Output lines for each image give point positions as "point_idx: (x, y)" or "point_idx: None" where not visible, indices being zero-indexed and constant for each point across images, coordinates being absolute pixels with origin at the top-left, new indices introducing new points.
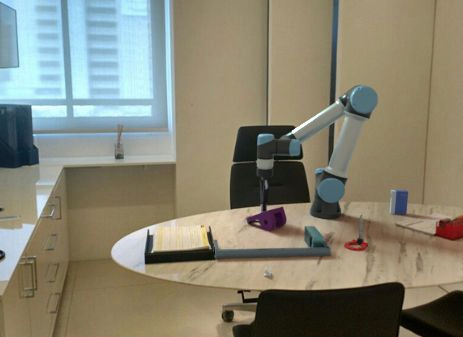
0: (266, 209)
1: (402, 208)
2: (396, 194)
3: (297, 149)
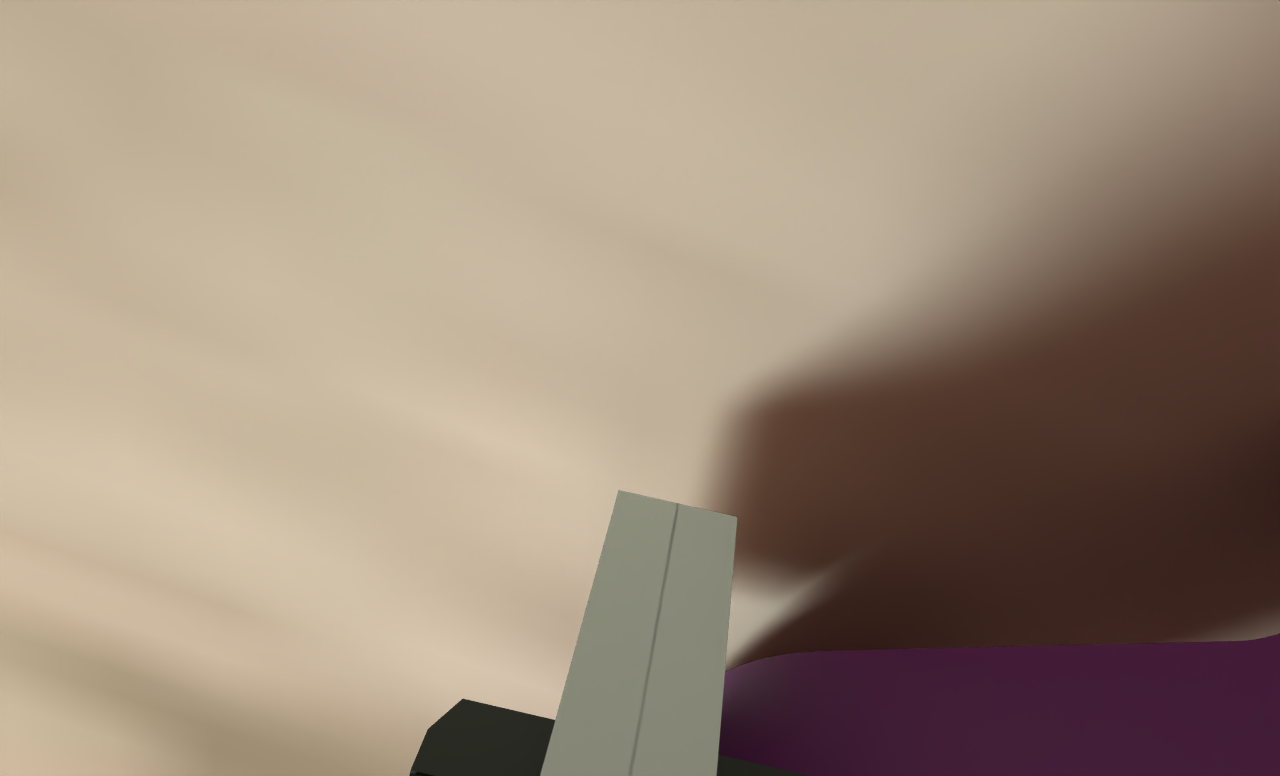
0: (714, 749)
1: None
2: None
3: None
